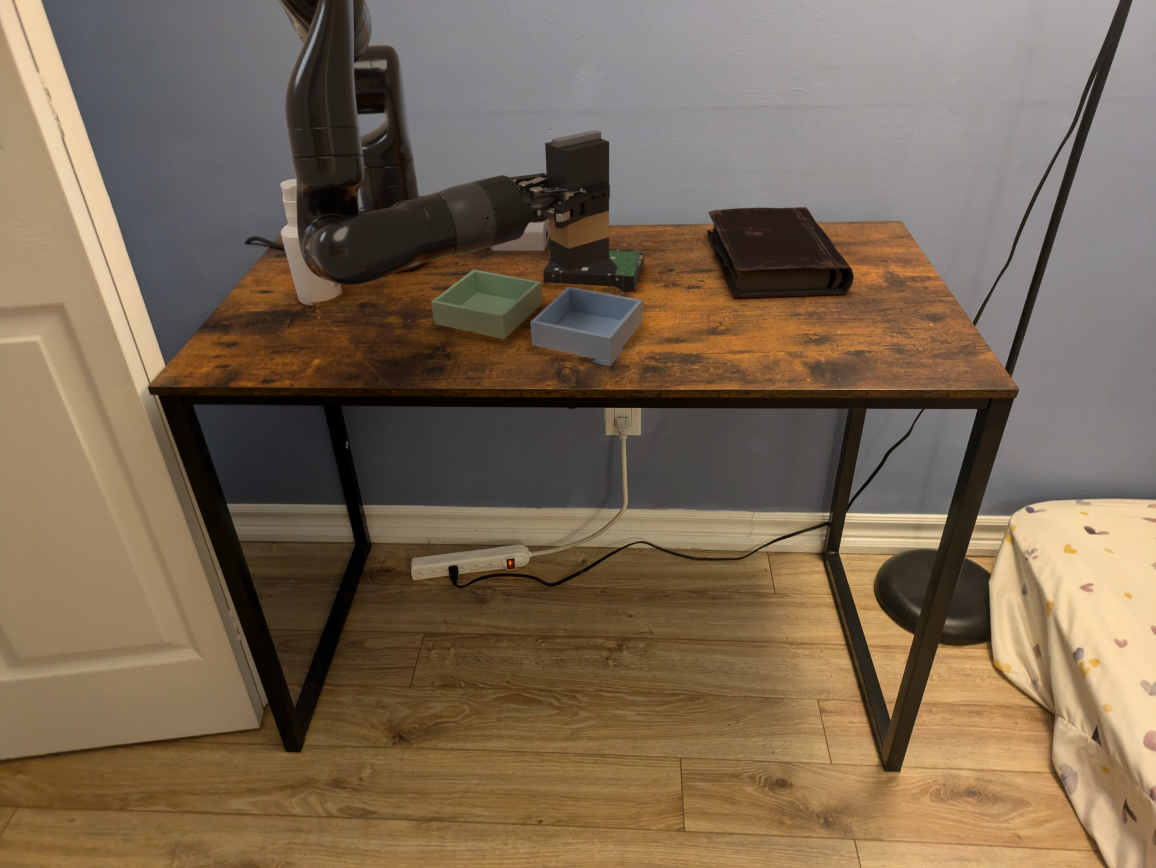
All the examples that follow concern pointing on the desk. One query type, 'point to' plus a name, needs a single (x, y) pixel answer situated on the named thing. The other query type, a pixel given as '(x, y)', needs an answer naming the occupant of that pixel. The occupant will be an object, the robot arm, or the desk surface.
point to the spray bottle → (303, 277)
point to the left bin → (487, 303)
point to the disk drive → (601, 271)
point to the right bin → (587, 324)
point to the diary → (777, 253)
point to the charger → (528, 239)
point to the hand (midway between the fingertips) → (595, 185)
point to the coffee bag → (574, 167)
